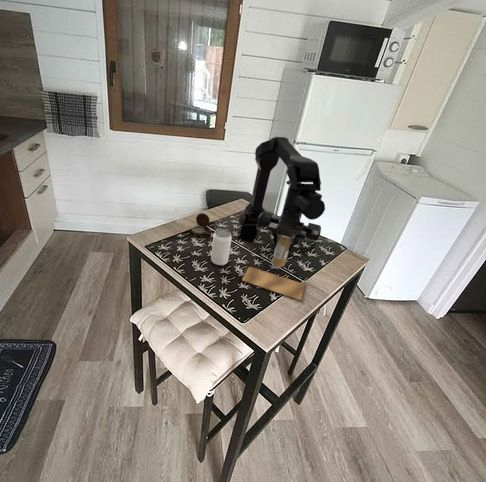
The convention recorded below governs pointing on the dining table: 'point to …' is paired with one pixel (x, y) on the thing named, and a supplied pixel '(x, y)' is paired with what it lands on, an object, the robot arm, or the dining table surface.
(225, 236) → the can
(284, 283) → the front mat
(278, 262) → the sprinkles bottle
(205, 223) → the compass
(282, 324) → the dining table surface
